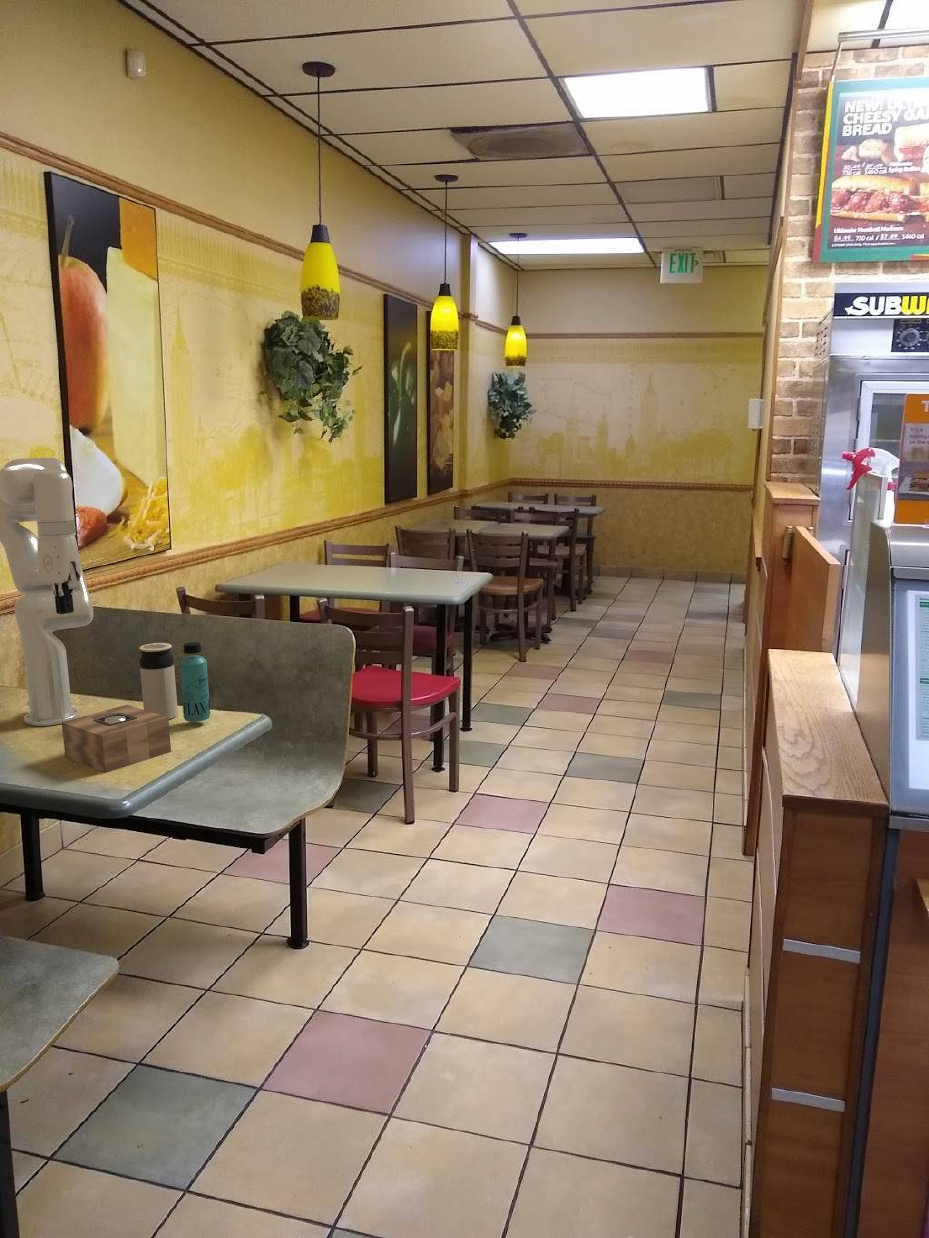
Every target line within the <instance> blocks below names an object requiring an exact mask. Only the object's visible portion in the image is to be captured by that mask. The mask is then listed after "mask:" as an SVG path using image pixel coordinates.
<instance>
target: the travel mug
mask: <svg viewBox="0 0 929 1238" xmlns="http://www.w3.org/2000/svg"><path fill="white" fill-rule="evenodd" d="M171 648H172V644H170V643H167V642H153V643H147V644H143V645H141V646H140V647H139V650H140V652H141V657H140V658H139V671H140V682H141V683H140V684H141V692H142V693H141V695H142V705H143V706H142V707H143V710H146V711H150V712H153V713H156V714H160V715H163V716H166V717H168V719H169V720H173V719H174V718H176V717H177V716H179V710H178V709H179V708H178V699H177V698H178V697H177V686H176V685H177V684H176V676H175V675H176V674H175V673H176V672H175V660H174V659H175V658H174V656H173V655H172V653H171Z"/></svg>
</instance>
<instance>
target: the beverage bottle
mask: <svg viewBox="0 0 929 1238" xmlns="http://www.w3.org/2000/svg"><path fill="white" fill-rule="evenodd" d="M201 652H203V651H202V645H201V642H197V641H191V642H186V643H184V644H183V653H184V654H188V655H187V656H185V657H183V658H182V659H181V661H180V662H179V665H180V666H179V667H180V679H181V680H180V682H181V699H182V714H183V719H184V721H187V722H189V723H191V722H192V723H193V722H195V723H196V722H204V721H206V720H209V719H210V717H211V701H210V700H211V699H210V694H209V690H210V689H209V687H210V686H209V674H208V662H207V661H208V660H207V659H206V658H205V657H204V656H202V655H198V654H199V653H201ZM189 654H193V655H189Z"/></svg>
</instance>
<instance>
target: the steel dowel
mask: <svg viewBox="0 0 929 1238" xmlns="http://www.w3.org/2000/svg"><path fill="white" fill-rule="evenodd" d="M123 720H126V717H124V716H112V717H108V718H106V719H105V722H108V723H111V724H112V723H116V722H119V721H123Z"/></svg>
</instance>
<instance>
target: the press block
mask: <svg viewBox="0 0 929 1238" xmlns="http://www.w3.org/2000/svg"><path fill="white" fill-rule="evenodd" d="M112 716H124V717H126V720H123V721H119V722H116V723H112V724H111V723H108V722H105V719H106V718H108V717H112ZM169 721H170V719H168V717H166V716H163V715H160V714H156V713H153V712H150V711H146V710H144V708H143V709H142V708H140V707H135V706H132V705H130V704H129V705H128V704H125V705H120V706H117V707H114V708H109V709H106V710H102V711H98V712H95V713H91V714H87V715H84V716H81V717H79V716H78V717H77V718H76V719H72V720H68V721H64V722H62V723H61V728H62V729H61V731H62V737H63V738H62V740H63V745H64V746H63V748H64V756H65V758H66V759H69V760H72V761H75V762H78V764H79V763H80V764H83V765H84V766H88V767H90V768H93V769H94V770H95V769H96V770H98V771H100V772H103V773H110V772H112V771H115V770H118V769H122V768H125V767H127V766H131V765H134V764H138V763H140V762H143V761H146V760H150V759H153V758H155V757H158V755H159V756H162V755H165V754H168V753H167V752H169V753H171V752H172V747H171V746H172V745H171V734H170V733H171V732H170V723H169ZM170 751H171V752H170ZM164 753H165V754H164ZM161 754H162V755H161Z"/></svg>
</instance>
